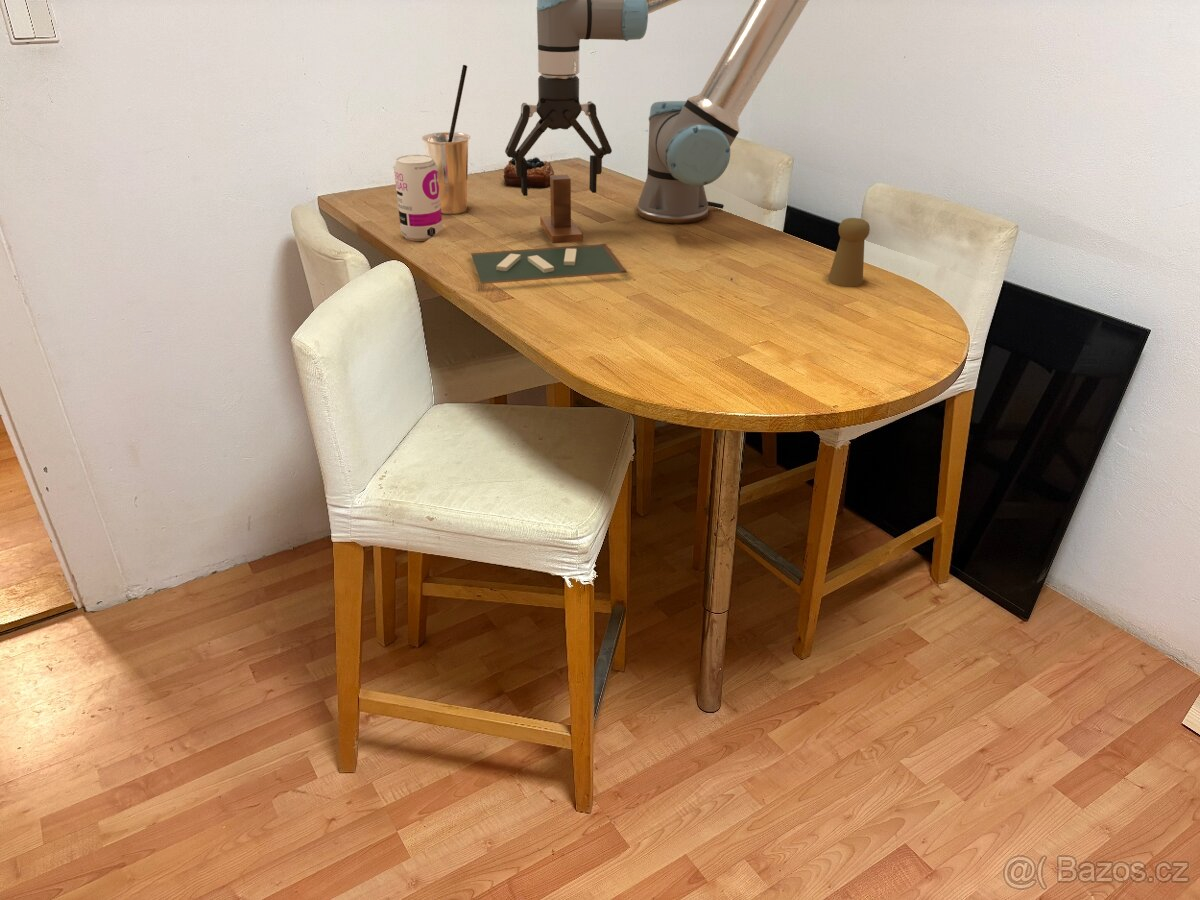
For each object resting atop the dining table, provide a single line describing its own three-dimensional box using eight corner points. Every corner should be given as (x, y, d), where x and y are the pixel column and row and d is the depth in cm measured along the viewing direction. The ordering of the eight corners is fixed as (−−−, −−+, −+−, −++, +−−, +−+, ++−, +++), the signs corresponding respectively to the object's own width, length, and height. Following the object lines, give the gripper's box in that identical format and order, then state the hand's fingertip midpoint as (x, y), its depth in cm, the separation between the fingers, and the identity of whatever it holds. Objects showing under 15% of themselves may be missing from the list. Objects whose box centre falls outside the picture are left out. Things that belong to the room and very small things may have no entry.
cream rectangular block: (510, 257, 159) (510, 253, 159) (520, 258, 159) (520, 254, 158) (496, 270, 154) (496, 265, 153) (506, 271, 153) (506, 267, 153)
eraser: (568, 226, 179) (568, 167, 173) (582, 247, 168) (582, 184, 162) (540, 228, 178) (538, 169, 172) (552, 249, 167) (551, 186, 161)
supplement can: (450, 232, 175) (444, 156, 167) (427, 244, 169) (419, 166, 161) (417, 227, 178) (409, 152, 170) (393, 238, 172) (384, 161, 164)
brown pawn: (864, 276, 156) (875, 216, 150) (861, 288, 151) (872, 226, 145) (830, 272, 158) (839, 212, 152) (826, 284, 153) (836, 222, 147)
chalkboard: (605, 249, 167) (605, 243, 167) (627, 278, 154) (627, 272, 153) (471, 259, 162) (470, 253, 161) (482, 290, 149) (481, 283, 148)
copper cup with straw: (476, 218, 183) (466, 65, 168) (424, 217, 184) (409, 64, 168) (483, 203, 193) (474, 57, 177) (433, 202, 193) (420, 56, 177)
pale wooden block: (565, 252, 162) (565, 248, 162) (576, 252, 162) (576, 248, 162) (563, 265, 156) (563, 261, 156) (574, 265, 156) (574, 261, 156)
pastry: (509, 175, 214) (508, 150, 211) (557, 177, 213) (556, 152, 210) (500, 187, 205) (499, 161, 201) (550, 188, 204) (550, 163, 201)
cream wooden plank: (527, 260, 158) (527, 256, 157) (537, 259, 159) (537, 255, 158) (544, 272, 153) (544, 268, 152) (554, 271, 154) (554, 266, 153)
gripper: (619, 71, 163) (615, 184, 174) (487, 72, 158) (492, 189, 169) (630, 77, 157) (625, 194, 168) (493, 79, 151) (497, 200, 163)
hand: (558, 192), depth 168 cm, fingers open, 13 cm apart
